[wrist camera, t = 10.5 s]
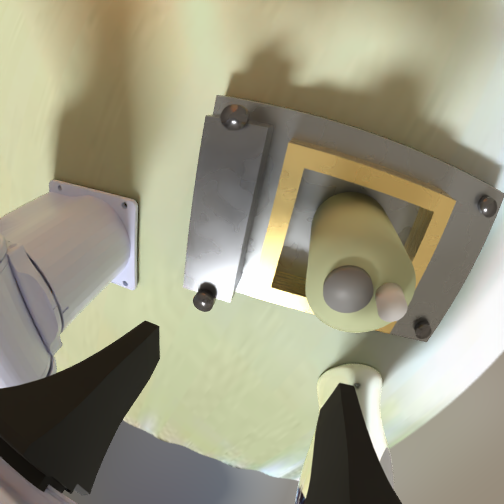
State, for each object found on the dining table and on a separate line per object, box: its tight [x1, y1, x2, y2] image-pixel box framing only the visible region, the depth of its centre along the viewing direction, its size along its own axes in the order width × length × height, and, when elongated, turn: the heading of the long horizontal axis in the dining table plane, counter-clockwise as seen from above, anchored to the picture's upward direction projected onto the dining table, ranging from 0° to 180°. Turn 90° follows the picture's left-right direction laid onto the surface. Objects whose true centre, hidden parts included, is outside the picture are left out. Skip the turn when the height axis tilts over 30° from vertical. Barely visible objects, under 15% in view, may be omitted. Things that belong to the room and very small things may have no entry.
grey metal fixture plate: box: [183, 95, 504, 342], centre depth 16 cm, size 18×12×5 cm, turn 78°
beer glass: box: [295, 364, 394, 504], centre depth 18 cm, size 7×7×15 cm
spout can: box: [305, 192, 416, 333], centre depth 14 cm, size 5×5×7 cm
